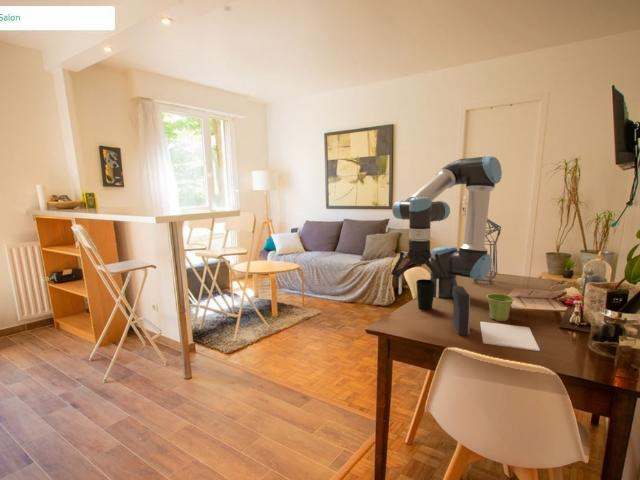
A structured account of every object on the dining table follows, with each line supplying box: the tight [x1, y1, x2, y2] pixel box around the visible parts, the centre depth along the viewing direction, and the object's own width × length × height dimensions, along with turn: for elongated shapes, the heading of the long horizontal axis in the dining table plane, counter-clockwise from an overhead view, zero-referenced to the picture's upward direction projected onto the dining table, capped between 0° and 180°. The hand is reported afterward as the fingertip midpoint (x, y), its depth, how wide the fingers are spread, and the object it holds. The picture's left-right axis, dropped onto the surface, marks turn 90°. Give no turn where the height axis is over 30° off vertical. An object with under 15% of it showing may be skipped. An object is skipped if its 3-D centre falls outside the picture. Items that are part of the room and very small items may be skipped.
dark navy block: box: [452, 285, 471, 337], centre depth 119 cm, size 11×4×15 cm, turn 168°
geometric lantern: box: [473, 217, 502, 285], centre depth 176 cm, size 16×16×35 cm
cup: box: [416, 278, 435, 312], centre depth 141 cm, size 8×8×12 cm
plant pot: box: [486, 293, 515, 322], centre depth 128 cm, size 9×9×9 cm
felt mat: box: [479, 321, 541, 352], centre depth 114 cm, size 18×16×1 cm
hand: (418, 294), depth 124 cm, fingers open, 13 cm apart
